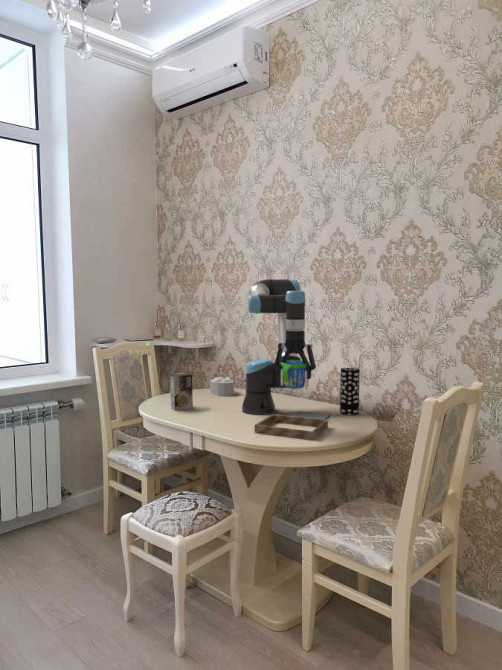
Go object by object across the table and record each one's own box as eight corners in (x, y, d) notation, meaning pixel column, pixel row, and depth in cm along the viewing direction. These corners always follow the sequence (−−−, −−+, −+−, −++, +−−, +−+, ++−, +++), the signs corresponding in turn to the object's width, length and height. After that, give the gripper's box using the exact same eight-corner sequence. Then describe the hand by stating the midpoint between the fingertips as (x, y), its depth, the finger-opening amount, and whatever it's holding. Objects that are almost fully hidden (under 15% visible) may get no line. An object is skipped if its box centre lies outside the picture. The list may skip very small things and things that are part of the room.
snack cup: (293, 392, 197) (293, 366, 196) (272, 388, 204) (272, 363, 203) (316, 386, 209) (316, 361, 208) (295, 382, 216) (295, 358, 215)
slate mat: (286, 420, 221) (286, 418, 220) (297, 412, 234) (297, 411, 234) (320, 423, 214) (320, 422, 214) (330, 415, 228) (330, 414, 228)
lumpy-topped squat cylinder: (222, 390, 283) (222, 375, 282) (238, 394, 274) (238, 378, 273) (207, 393, 276) (207, 377, 275) (224, 397, 266) (224, 380, 266)
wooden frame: (254, 432, 202) (254, 425, 201) (272, 421, 219) (272, 414, 218) (313, 440, 192) (313, 432, 191) (327, 427, 209) (328, 420, 209)
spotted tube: (358, 415, 228) (359, 370, 226) (339, 414, 230) (340, 370, 228) (358, 411, 236) (359, 368, 234) (340, 410, 238) (341, 367, 236)
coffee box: (188, 405, 248) (188, 372, 246) (193, 408, 242) (192, 374, 240) (170, 407, 244) (169, 373, 242) (174, 410, 238) (173, 375, 236)
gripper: (265, 329, 206) (265, 385, 208) (319, 332, 196) (318, 390, 199) (273, 328, 212) (272, 381, 215) (325, 330, 203) (324, 386, 205)
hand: (294, 385), depth 207 cm, fingers closed on snack cup, 9 cm apart
